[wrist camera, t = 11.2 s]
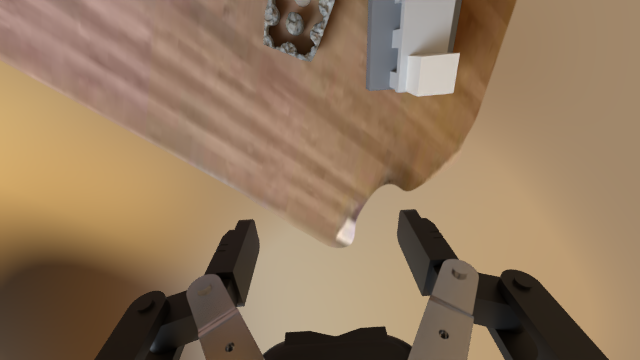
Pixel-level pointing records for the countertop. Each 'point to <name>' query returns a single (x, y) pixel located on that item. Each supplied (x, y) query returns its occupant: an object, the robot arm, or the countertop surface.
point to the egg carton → (296, 27)
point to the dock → (389, 41)
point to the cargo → (432, 73)
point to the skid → (420, 33)
